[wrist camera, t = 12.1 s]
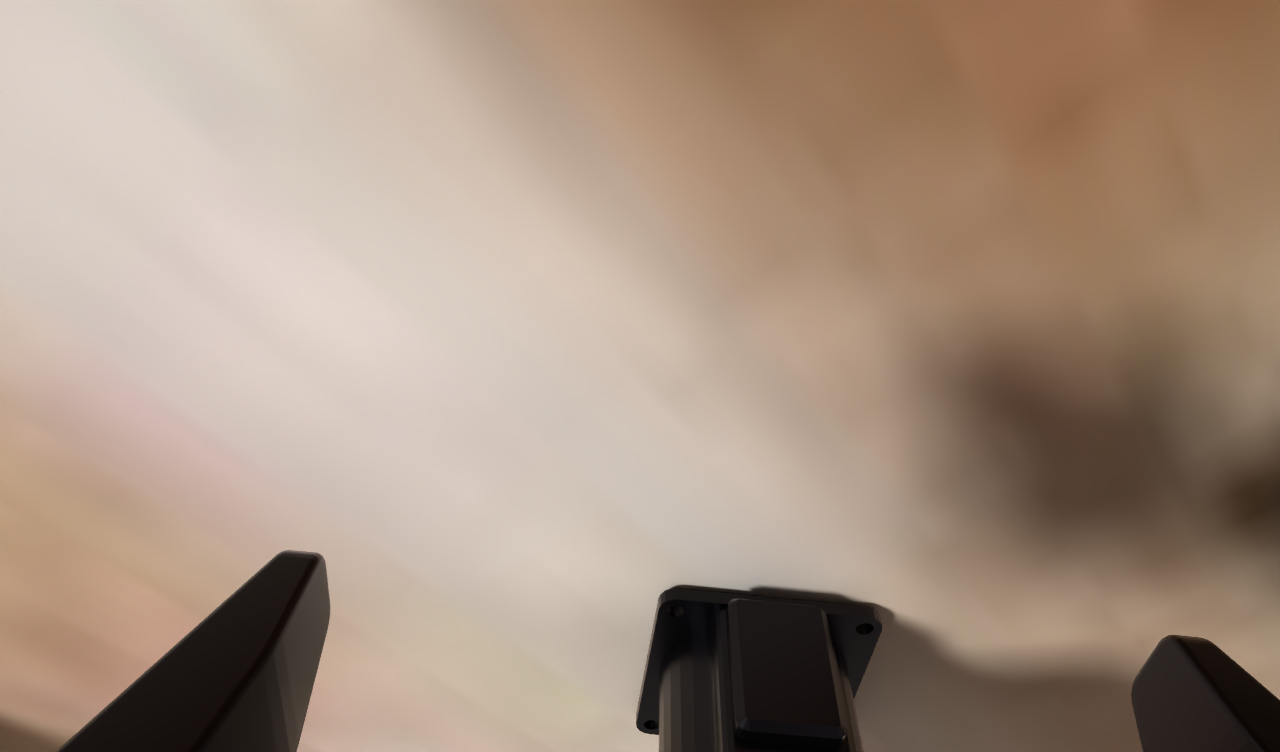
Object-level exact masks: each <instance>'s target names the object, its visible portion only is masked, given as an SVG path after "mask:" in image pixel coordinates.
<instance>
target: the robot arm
mask: <svg viewBox="0 0 1280 752" xmlns="http://www.w3.org/2000/svg"><path fill="white" fill-rule="evenodd" d="M672 605H679V606H672ZM329 618H330V599H329V590H328V580H327V571H326V563H325V560H324V558H323V556H322V555H321V554H318V553H314V552H303V551H293V550H286V551H283V552H281V553H279V554H277V555H276V556H275V557H274V558H273V559H272V560H270V561H269V562H268V563H267V564H266V565H265V566H264V567H263V568H261V569H260V570H259V571H258V572H257V573H256V574H255V575H254V576H252V577H251V578H250V579H249V580H248V581H247V582H246V583H245V584H244V585H242V586H241V587H240V588H239V589H238V590H237V591H236V592H235V593H233V594H232V595H231V596H230V597H229V598H228V599H227V600H226V601H224V602H223V603H222V604H221V605H220V606H219V607H218V608H217V609H215V610H214V611H213V612H212V613H211V614H210V615H209V616H208V617H206V618H205V619H204V620H203V621H202V622H201V623H200V624H199V625H197V626H196V627H195V628H194V629H193V630H192V631H191V632H190V633H189V634H187V635H186V636H185V637H184V638H183V639H182V640H181V641H180V642H178V643H177V644H176V645H175V646H174V647H173V648H172V649H171V650H169V651H168V652H167V653H166V654H165V655H164V656H163V657H162V658H160V659H159V660H158V661H157V662H156V663H155V664H154V665H153V666H151V667H150V668H149V669H148V670H147V671H146V672H145V673H144V674H143V675H141V676H140V677H139V678H138V679H137V680H136V681H135V682H134V683H132V684H131V685H130V686H129V687H128V688H127V689H126V690H125V691H123V692H122V693H121V694H120V695H119V696H118V697H117V698H116V699H114V700H113V701H112V702H111V703H110V704H109V705H108V706H107V707H105V708H104V709H103V710H102V711H101V712H100V713H99V714H98V715H96V716H95V717H94V718H93V719H92V720H91V721H90V722H89V723H88V724H86V725H85V726H84V727H83V728H82V729H81V730H80V731H79V732H77V733H76V734H75V735H74V736H73V737H72V738H71V739H70V740H68V741H67V742H66V743H65V744H64V745H63V746H62V747H61V748H59V749H58V750H57V751H56V752H296V751H297V748H298V744H299V740H300V736H301V732H302V728H303V724H304V721H305V717H306V713H307V709H308V705H309V701H310V697H311V693H312V689H313V685H314V681H315V677H316V673H317V669H318V665H319V661H320V657H321V653H322V649H323V645H324V641H325V637H326V633H327V629H328V624H329ZM862 623H864V624H862ZM881 631H882V623H881V619H880V615H879V613H878V611H877V610H875V609H874V608H870V607H866V606H855V605H845V604H834V603H824V602H814V601H803V600H793V599H782V598H772V597H762V596H751V595H741V594H730V593H720V592H710V591H699V590H689V589H669V590H666V591H664V592H663V593H662V594H661V595H660V597H659V599H658V604H657V609H656V615H655V620H654V625H653V630H652V635H651V640H650V646H649V651H648V656H647V661H646V666H645V671H644V677H643V682H642V687H641V692H640V697H639V702H638V708H637V714H636V725H637V728H638V729H639V730H640V731H642V732H644V733H647V734H655V735H659V752H863V748H862V743H861V737H860V732H859V727H858V721H857V716H856V711H855V706H854V700H853V699H854V697H855V695H856V692H857V690H858V687H859V685H860V682H861V680H862V677H863V675H864V673H865V670H866V668H867V665H868V663H869V660H870V658H871V656H872V653H873V651H874V648H875V646H876V643H877V641H878V638H879V636H880V634H881ZM1131 696H1132V705H1133V710H1134V714H1135V718H1136V723H1137V727H1138V731H1139V736H1140V740H1141V744H1142V749H1143V752H1280V700H1279V699H1278V698H1277V697H1276V696H1274V695H1273V694H1272V693H1271V692H1270V691H1269V690H1267V689H1266V688H1265V687H1264V686H1263V685H1262V684H1260V683H1259V682H1258V681H1257V680H1256V679H1255V678H1253V677H1252V676H1251V675H1250V674H1249V673H1248V672H1246V671H1245V670H1244V669H1243V668H1242V667H1241V666H1239V665H1238V664H1237V663H1236V662H1235V661H1234V660H1232V659H1231V658H1230V657H1229V656H1228V655H1226V654H1225V653H1224V652H1223V651H1222V650H1221V649H1219V648H1218V647H1217V646H1216V645H1215V644H1213V643H1212V642H1210V641H1209V640H1207V639H1204V638H1199V637H1190V636H1180V635H1169V636H1167V637H1165V638H1163V639H1162V640H1161V641H1160V642H1159V643H1158V645H1157V646H1156V648H1155V649H1154V651H1153V652H1152V654H1151V655H1150V657H1149V658H1148V660H1147V661H1146V663H1145V664H1144V666H1143V667H1142V669H1141V670H1140V671H1139V673H1138V674H1137V676H1136V678H1135V679H1134V682H1133V685H1132V692H1131Z"/></svg>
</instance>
